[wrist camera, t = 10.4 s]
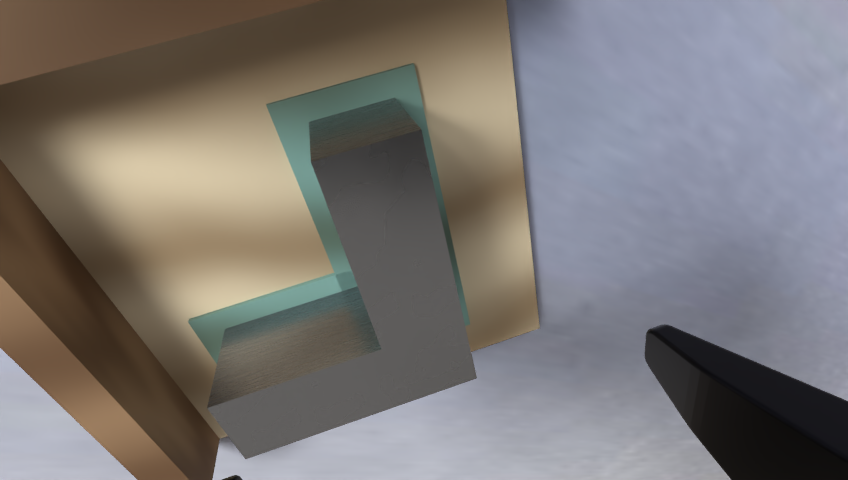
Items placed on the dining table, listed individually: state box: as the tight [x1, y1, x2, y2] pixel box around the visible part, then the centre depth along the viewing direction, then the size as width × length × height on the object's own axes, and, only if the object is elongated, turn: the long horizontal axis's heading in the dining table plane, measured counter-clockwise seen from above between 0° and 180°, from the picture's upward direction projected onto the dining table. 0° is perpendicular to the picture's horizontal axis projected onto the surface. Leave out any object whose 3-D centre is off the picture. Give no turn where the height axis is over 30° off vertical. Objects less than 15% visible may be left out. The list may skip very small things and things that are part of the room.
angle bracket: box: [207, 98, 477, 459], centre depth 16 cm, size 10×9×4 cm
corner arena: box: [0, 0, 540, 480], centre depth 16 cm, size 18×18×4 cm
